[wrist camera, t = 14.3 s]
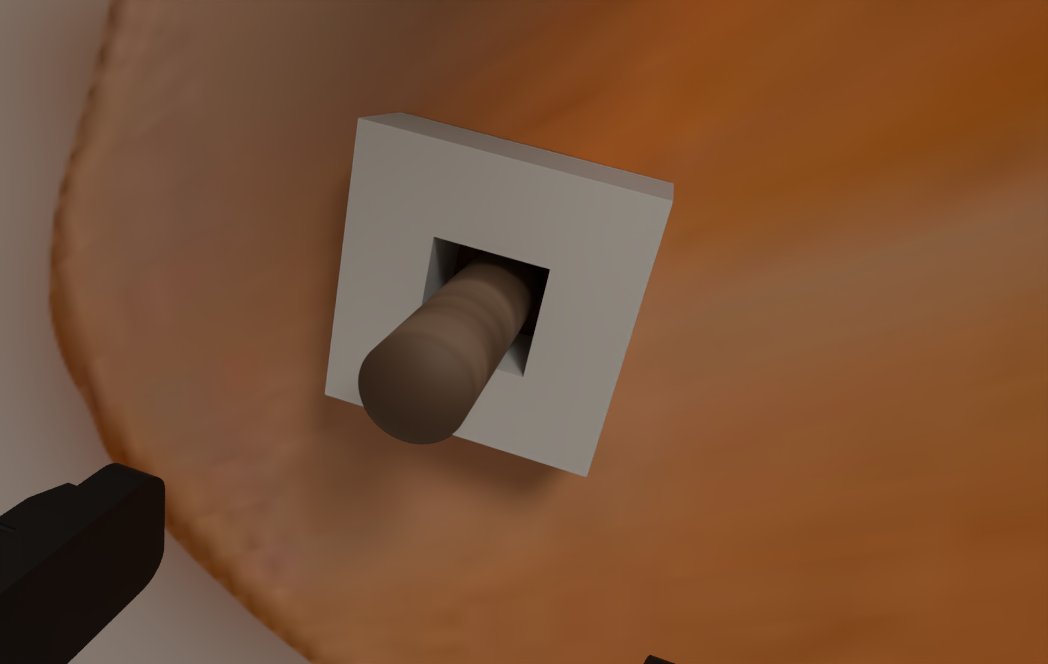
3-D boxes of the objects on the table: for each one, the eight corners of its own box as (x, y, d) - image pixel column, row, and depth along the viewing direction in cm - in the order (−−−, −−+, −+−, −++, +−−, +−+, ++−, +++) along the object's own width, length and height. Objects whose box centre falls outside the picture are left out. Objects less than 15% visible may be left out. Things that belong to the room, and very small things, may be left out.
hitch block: (401, 112, 34) (358, 117, 29) (673, 183, 32) (673, 201, 28) (365, 357, 39) (324, 394, 35) (597, 428, 38) (586, 477, 33)
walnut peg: (478, 233, 35) (365, 323, 23) (551, 254, 35) (479, 357, 22) (464, 303, 37) (351, 424, 24) (534, 324, 36) (457, 458, 24)
